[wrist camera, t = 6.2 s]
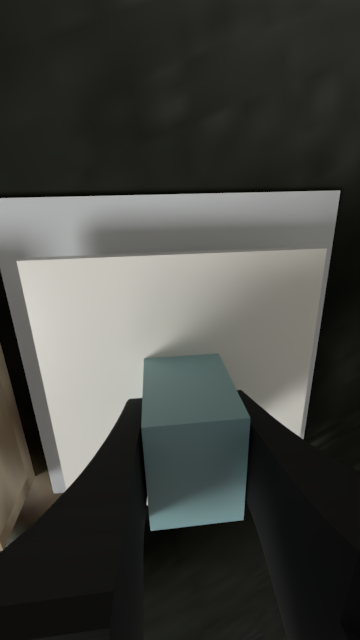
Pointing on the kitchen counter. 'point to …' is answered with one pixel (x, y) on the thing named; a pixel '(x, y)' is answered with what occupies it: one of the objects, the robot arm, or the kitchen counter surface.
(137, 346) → the lid
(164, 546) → the kitchen counter surface
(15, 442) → the box
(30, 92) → the kitchen counter surface
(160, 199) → the mat
